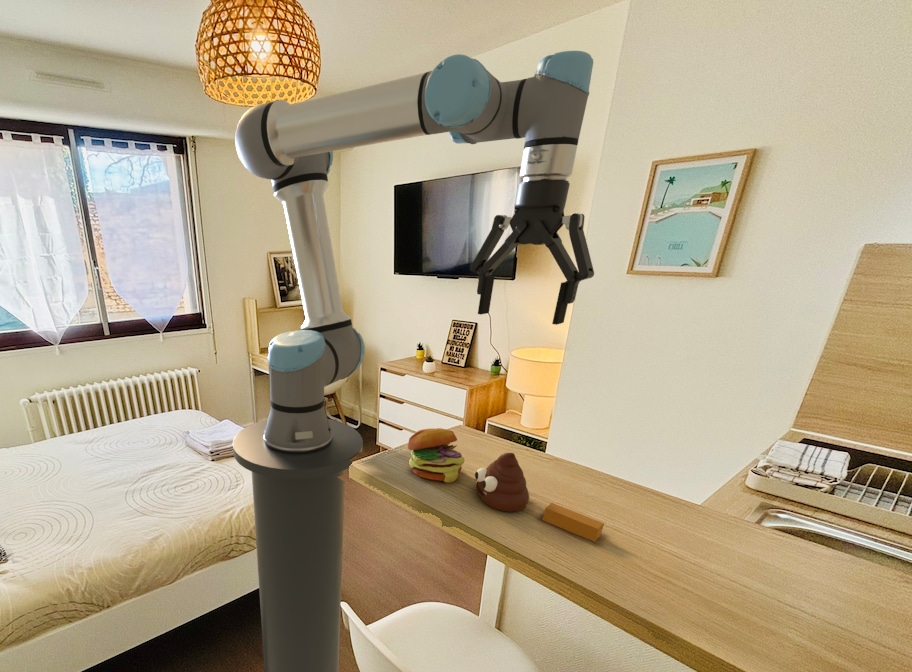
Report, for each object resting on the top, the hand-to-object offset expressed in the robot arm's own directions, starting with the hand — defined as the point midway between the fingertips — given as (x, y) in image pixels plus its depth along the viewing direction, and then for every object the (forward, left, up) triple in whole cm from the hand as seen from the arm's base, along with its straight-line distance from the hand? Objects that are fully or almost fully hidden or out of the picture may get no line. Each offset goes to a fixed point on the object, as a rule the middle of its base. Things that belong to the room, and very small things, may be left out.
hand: (518, 318), depth 82 cm
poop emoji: (+8, -12, -29) cm, 32 cm away
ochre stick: (+20, -12, -29) cm, 37 cm away
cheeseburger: (-6, -12, -29) cm, 32 cm away
